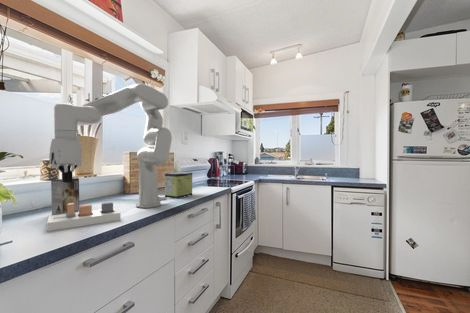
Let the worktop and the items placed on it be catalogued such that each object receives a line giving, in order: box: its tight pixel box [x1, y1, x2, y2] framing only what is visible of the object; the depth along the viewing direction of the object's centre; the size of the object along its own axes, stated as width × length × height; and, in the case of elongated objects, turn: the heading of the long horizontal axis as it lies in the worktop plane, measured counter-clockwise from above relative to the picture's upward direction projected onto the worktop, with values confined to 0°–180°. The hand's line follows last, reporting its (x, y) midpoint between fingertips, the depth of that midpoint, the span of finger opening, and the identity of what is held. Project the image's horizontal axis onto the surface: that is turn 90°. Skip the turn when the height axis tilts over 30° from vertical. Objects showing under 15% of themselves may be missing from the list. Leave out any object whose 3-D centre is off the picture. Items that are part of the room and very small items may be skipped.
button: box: [101, 202, 114, 213], centre depth 100 cm, size 4×4×4 cm
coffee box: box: [50, 177, 80, 216], centre depth 110 cm, size 9×6×16 cm
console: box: [47, 207, 121, 232], centre depth 96 cm, size 24×12×3 cm, turn 127°
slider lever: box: [66, 203, 76, 217], centre depth 93 cm, size 3×4×5 cm
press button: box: [78, 204, 93, 217], centre depth 96 cm, size 4×4×4 cm
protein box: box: [164, 171, 193, 199], centre depth 154 cm, size 10×16×16 cm
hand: (67, 182), depth 92 cm, fingers closed
